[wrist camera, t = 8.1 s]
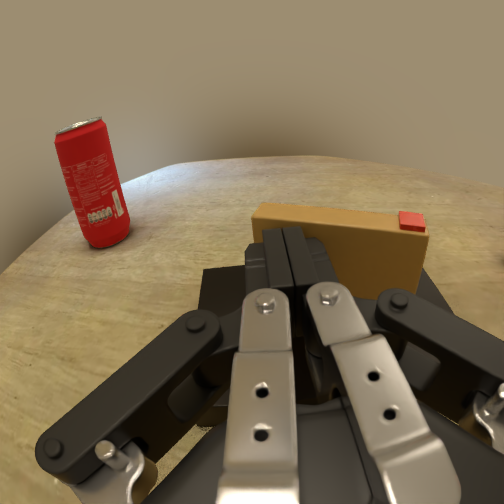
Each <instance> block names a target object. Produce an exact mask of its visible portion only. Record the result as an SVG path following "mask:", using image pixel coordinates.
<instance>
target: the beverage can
mask: <svg viewBox="0 0 504 504" xmlns="http://www.w3.org/2000/svg"><path fill="white" fill-rule="evenodd" d="M55 135H56V138H55V142H54V143H55V147H56V151H57V154H58V158H59V162H60V165H61V169H62V172H63V175H64V179H65V182H66V186H67V189H68V192H69V195H70V198H71V201H72V204H73V207H74V210H75V213H76V216H77V219H78V222H79V224H80V227H81V230H82V232H83V235H84V238H85V239H86V240H87V241H88V242H90V244H91V245H92V246H93V247H94V248H106V247H109V246H112V245H115V244H117V243H119V242H120V241H122V240H123V239H125V238H126V237H127V235H128V234H129V225H130V217H129V214H128V210H127V207H126V203H125V200H124V196H123V193H122V189H121V185H120V182H119V178H118V174H117V170H116V166H115V162H114V158H113V154H112V150H111V145H110V141H109V136H108V132H107V127H106V124H105V123H104V122H103V121H102V117H96V118H92V119H89V120H85V121H82V122H79V123H76V124H74V125H71V126H68V127H66V128H63V129H61V130H59V131H57V132H55Z"/></svg>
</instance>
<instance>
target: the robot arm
mask: <svg viewBox="0 0 504 504" xmlns="http://www.w3.org/2000/svg"><path fill="white" fill-rule="evenodd" d="M262 235H263V242H262V243H252V244H249V246H248V247H247V249H246V250H245V279H246V297H245V299H244V301H243V304H242V306H241V307H240V308H239V309H237V310H236V311H234V312H232V313H230V314H227V315H225V316H222V317H219V318H218V317H217V315H216V314H214V313H213V312H211V311H208V310H193V311H190V312H187V313H185V314H183V315H182V316H181V317H179V318H178V319H177V320H176V321H175V322H174V323H172V324H171V325H170V326H169V327H168V328H166V329H165V330H164V331H163V332H162V333H161V334H159V335H158V336H157V337H156V338H155V339H154V340H152V341H151V342H150V343H149V344H148V345H147V346H145V347H144V348H143V349H142V350H141V351H139V352H138V353H137V354H136V355H135V356H134V357H132V358H131V359H130V360H129V361H128V362H127V363H125V364H124V365H123V366H122V367H121V368H119V369H118V370H117V371H116V372H115V373H114V374H112V375H111V376H110V377H109V378H108V379H106V380H105V381H104V382H103V383H102V384H101V385H99V386H98V387H97V388H96V389H95V390H94V391H92V392H91V393H90V394H89V395H88V396H86V397H85V398H84V399H83V400H82V401H81V402H79V403H78V404H77V405H76V406H75V407H73V408H72V409H71V410H70V411H69V412H68V413H66V414H65V415H64V416H63V417H62V418H60V419H59V420H58V421H57V422H56V423H55V424H53V425H52V426H51V427H50V428H49V429H47V430H46V431H45V432H44V433H43V434H42V435H41V436H40V437H39V439H38V441H37V443H36V447H35V457H36V460H37V463H38V464H39V466H40V467H41V468H42V469H43V470H44V471H46V472H48V473H49V474H51V475H52V476H54V477H56V478H57V479H59V480H60V481H61V482H62V483H64V484H66V485H67V486H69V487H70V488H71V489H72V490H73V492H74V493H75V494H76V496H77V497H78V498H79V499H80V501H81V502H82V503H83V504H504V341H502V340H500V339H499V338H497V337H495V336H493V335H491V334H489V333H488V332H486V331H484V330H482V329H480V328H478V327H476V326H475V325H473V324H471V323H469V322H467V321H465V320H463V319H461V318H459V317H458V316H456V315H454V314H452V313H450V312H448V311H446V310H444V309H442V308H440V307H438V306H436V305H435V304H433V303H431V302H429V301H427V300H425V299H423V298H421V297H419V296H417V295H415V294H413V293H411V292H409V291H407V290H404V289H400V288H391V289H387V290H385V291H383V292H381V293H380V295H379V296H378V299H377V300H372V299H363V298H358V297H355V296H352V295H351V293H350V291H349V290H348V289H347V288H346V287H345V286H343V285H342V284H340V283H339V281H338V278H337V276H336V273H335V271H334V268H333V266H332V263H331V261H330V259H329V256H328V254H327V251H326V249H325V247H324V244H323V243H322V242H321V241H319V240H318V239H317V238H316V237H311V238H305V237H304V234H303V231H302V229H301V226H294V227H284V228H282V231H281V228H274V229H264V230H262ZM295 332H296V337H301V336H304V340H305V356H306V360H307V363H308V367H309V370H310V374H311V377H312V380H313V384H314V387H315V391H316V394H317V398H318V405H305V404H296V400H295V381H294V363H293V350H292V338H293V337H295ZM408 341H409V342H410V343H412V344H414V345H416V346H417V347H419V348H421V349H423V350H424V351H426V352H428V353H430V354H431V355H433V356H435V357H436V358H437V359H438V360H439V361H440V363H437V362H435V361H434V360H432V359H430V358H428V357H427V356H425V355H423V354H421V353H420V352H418V351H416V350H414V349H413V348H411V347H409V346H408V345H407V343H408ZM229 388H230V396H229V406H228V416H227V420H225V421H224V422H222V423H220V424H218V425H217V426H215V427H214V428H212V429H211V430H210V431H209V432H207V433H206V434H205V435H204V436H203V437H202V438H201V439H200V440H199V442H198V443H197V444H196V445H195V446H194V447H193V448H192V449H191V451H190V452H189V453H188V454H187V455H186V456H185V457H184V458H183V459H182V460H181V461H180V463H179V464H178V465H177V466H176V467H175V468H174V469H173V470H172V471H171V472H170V473H169V474H168V475H167V476H166V477H165V479H164V480H163V481H162V482H161V483H160V484H159V485H158V486H157V487H156V488H155V489H154V490H153V491H152V492H151V493H150V494H149V492H150V490H151V489H152V488H153V486H154V485H155V483H156V481H157V478H158V470H157V467H156V465H155V464H156V463H157V462H158V461H159V460H160V459H161V458H162V457H163V456H164V455H165V454H166V453H167V452H168V451H169V450H170V449H171V448H172V447H173V446H174V445H175V444H176V443H177V442H178V441H179V440H180V439H181V438H182V437H183V436H184V435H185V434H186V433H187V432H188V431H189V430H190V429H191V428H192V427H193V426H194V425H195V424H196V423H197V422H198V421H199V420H200V419H201V418H202V417H203V416H204V414H205V413H206V412H207V411H208V410H209V409H210V408H211V407H212V406H213V405H214V404H215V403H216V402H217V401H218V400H219V399H220V397H221V396H222V395H223V394H224V393H225V392H226V391H227V390H228V389H229ZM417 399H418V400H417ZM438 412H439V413H438ZM441 414H442V415H441ZM443 415H444V416H445V417H444V416H443ZM446 417H447V418H449V419H450V420H449V419H447V418H446ZM451 420H452V421H454V422H455V423H457V424H459V426H458V425H457V424H455V423H454V422H452V421H451ZM148 494H149V495H148Z"/></svg>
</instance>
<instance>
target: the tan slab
mask: <svg viewBox="0 0 504 504" xmlns="http://www.w3.org/2000/svg"><path fill="white" fill-rule="evenodd" d="M251 220H252V229H253V238H254V243H262V242H263V235H262V230H264V229H274V228H281V231H282V228H284V227H294V226H301V229H302V231H303V234H304V237H305V238H311V237H316V238H317V239H318V240H319V241H321V242H322V243H323V244H324V247H325V249H326V251H327V254H328V256H329V259H330V261H331V263H332V266H333V268H334V271H335V273H336V276H337V278H338V281H339V283H340V284H342V285H343V286H345V287H346V288H347V289H348V290H349V291H350V293H351V295H352V296H355V297H358V298H363V299H372V300H377V299H378V296H379V295H380V293H381V292H383V291H385V290H387V289H391V288H400V289H404V290H407V291H409V292H411V293H413V294H416V290H417V287H418V283H419V279H420V275H421V271H422V267H423V263H424V259H425V255H426V250H427V246H428V241H429V232H428V228H427V224H426V220H425V219H424V218H423V214H419V213H412V212H404V211H399V215H391V214H383V213H374V212H365V211H355V210H346V209H335V208H325V207H314V206H302V205H290V204H276V203H261V205H260V206H259V207H258V208H257V210H256V211H255V212H254V214H253V215H252V216H251Z"/></svg>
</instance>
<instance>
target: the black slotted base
mask: <svg viewBox="0 0 504 504" xmlns="http://www.w3.org/2000/svg"><path fill="white" fill-rule="evenodd" d="M415 295H417V296H419V297H421V298H423V299H425V300H427V301H429V302H431V303H433V304H435V305H436V306H438V307H440V308H442V309H444V310H446V311H448V312H450V313H452V314H454V313H453V311H452V310H451V308H450V307H449V305H448V304H447V302H446V301H445V299H444V298H443V296H442V295H441V293H440V292H439V290H438V289H437V287H436V286H435V284H434V283H433V282H432V280H431V279H430V277H429V276H428V274H427V273H426V272H425V270H424V269H423V267H422V271H421V275H420V279H419V283H418V287H417V290H416V294H415ZM245 297H246V279H245V265H240V266H230V267H220V268H210V269H204V270H203V276H202V283H201V290H200V297H199V304H198V310H208V311H211V312H213V313H214V314H216V315H217V317H218V318H219V317H222V316H225V315H227V314H230V313H232V312H234V311H236V310H237V309H239V308H240V307H241V306H242V304H243V301H244V299H245ZM407 345H408V346H409V347H411V348H413V349H414V350H416V351H418V352H420V353H421V354H423V355H425V356H427V357H428V358H430V359H432V360H434V361H435V362H437V363H440V361H439V360H438V359H437V358H436V357H435V356H433V355H431V354H430V353H428V352H426V351H424V350H423V349H421V348H419V347H417V346H416V345H414V344H412V343H410V342H409V341H408V343H407ZM292 350H293V363H294V381H295V400H296V404H305V405H318V398H317V394H316V391H315V387H314V384H313V380H312V377H311V374H310V370H309V367H308V363H307V360H306V356H305V340H304V336H301V337H296V332H295V337H293V338H292ZM229 396H230V388H229V389H228V390H227V391H226V392H225V393H224V394H223V395H222V396H221V397H220V399H219V400H218V401H217V402H216V403H215V404H214V405H213V406H212V407H211V408H210V409H209V410H208V411H207V412H206V413H205V414H204V416H203V417H202V418H201V419H200V420H199V421H198V422H197V423H196V425H197V426H217V425H218V424H220V423H222V422H224V421H225V420H227V416H228V406H229Z"/></svg>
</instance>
